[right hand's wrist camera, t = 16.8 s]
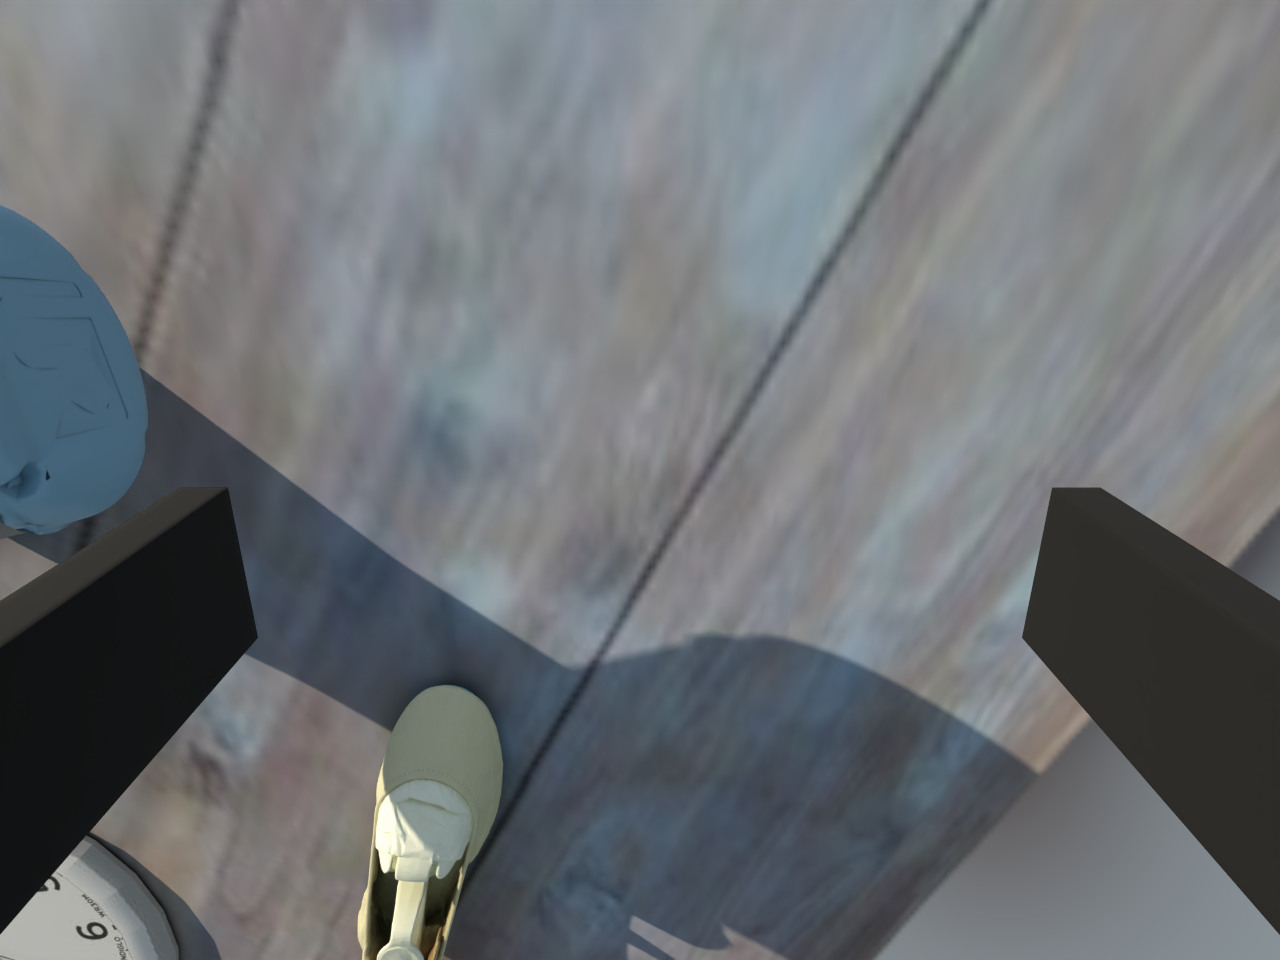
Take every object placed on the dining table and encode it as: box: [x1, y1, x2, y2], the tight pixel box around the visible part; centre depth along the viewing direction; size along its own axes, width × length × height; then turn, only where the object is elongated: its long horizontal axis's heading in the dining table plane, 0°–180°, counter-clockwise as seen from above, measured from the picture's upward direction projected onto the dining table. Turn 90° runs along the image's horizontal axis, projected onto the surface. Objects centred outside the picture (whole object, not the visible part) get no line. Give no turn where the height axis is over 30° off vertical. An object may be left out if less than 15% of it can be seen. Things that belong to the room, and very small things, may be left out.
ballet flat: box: [358, 685, 503, 960], centre depth 52 cm, size 8×25×8 cm, turn 167°
